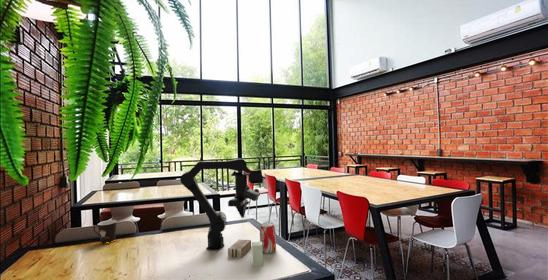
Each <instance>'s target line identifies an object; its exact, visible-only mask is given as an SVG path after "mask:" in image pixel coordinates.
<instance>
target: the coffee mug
mask: <svg viewBox="0 0 548 280" xmlns="http://www.w3.org/2000/svg"><path fill="white" fill-rule="evenodd" d="M117 223H118V222H117V220H106V221H101V222H99V223H97V225H96V224H95V225H93V229H92V230H93V232H94V233H95V234H96V235H98V236H99V238H100V240H99V241H100V243H101V242H102V243H106V242H111V241H113V240H115V241H116V235H117V234H116V233H117ZM96 227H97V228H98V232H97V230H96V229H95V228H96Z"/></svg>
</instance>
